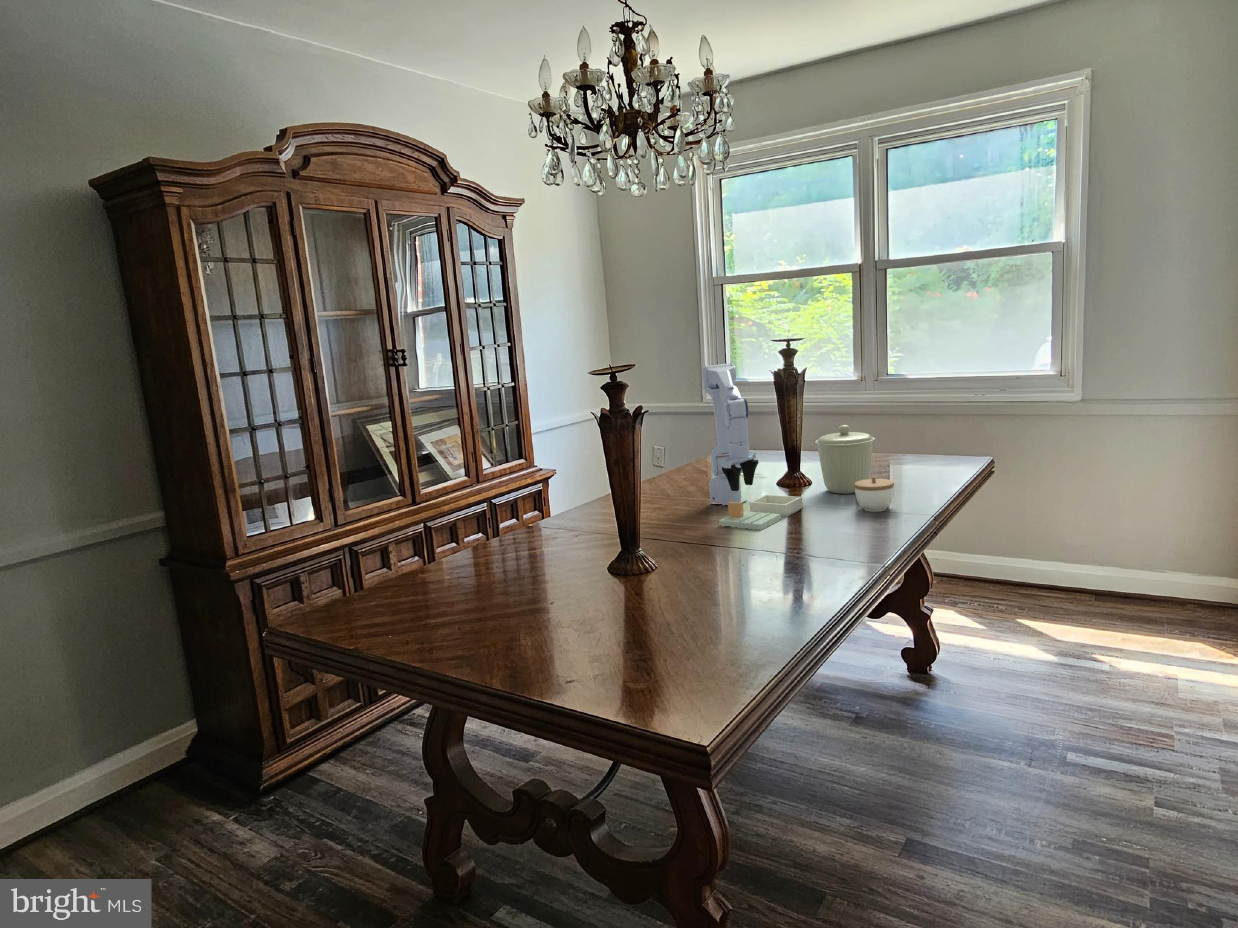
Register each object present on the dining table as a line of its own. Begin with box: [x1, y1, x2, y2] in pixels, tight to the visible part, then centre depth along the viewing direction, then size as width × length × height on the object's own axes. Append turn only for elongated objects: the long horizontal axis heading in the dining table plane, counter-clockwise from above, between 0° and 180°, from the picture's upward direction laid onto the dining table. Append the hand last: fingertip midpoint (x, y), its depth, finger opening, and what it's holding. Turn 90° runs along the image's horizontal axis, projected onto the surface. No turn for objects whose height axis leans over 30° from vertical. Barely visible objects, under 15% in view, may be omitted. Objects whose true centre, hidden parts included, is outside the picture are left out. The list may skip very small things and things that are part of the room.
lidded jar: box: [854, 476, 895, 513], centre depth 217 cm, size 11×11×9 cm
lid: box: [718, 502, 782, 530], centre depth 216 cm, size 13×11×6 cm
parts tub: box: [748, 494, 804, 518], centre depth 226 cm, size 12×10×4 cm
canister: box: [814, 424, 876, 495], centre depth 242 cm, size 18×18×21 cm
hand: (742, 487), depth 220 cm, fingers open, 7 cm apart
